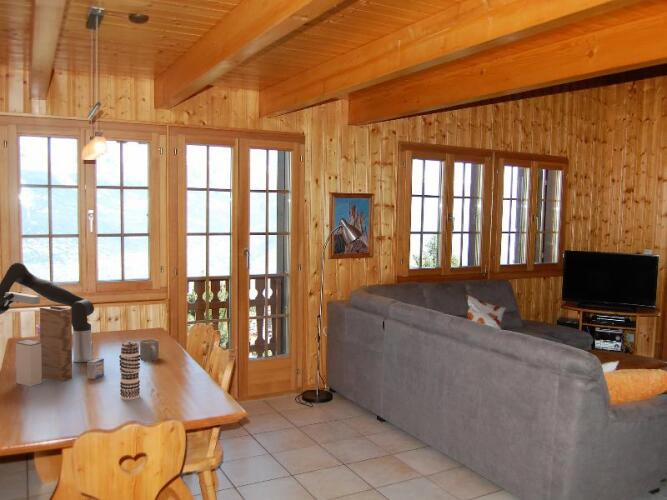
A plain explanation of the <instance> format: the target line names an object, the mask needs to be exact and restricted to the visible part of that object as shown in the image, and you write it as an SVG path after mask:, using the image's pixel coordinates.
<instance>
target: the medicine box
mask: <svg viewBox="0 0 667 500" xmlns="http://www.w3.org/2000/svg"><path fill="white" fill-rule="evenodd" d="M86 363H87V365H86V367H87V369H86V371H87V372H86V373H87V379H88V380H89V379H90V380H96V379H99V378H101V377H103V376H104V375H105V359H104V358H103V357H102V358H101V357H96V358H93V359H92V360H91V361H88V362H86Z"/></svg>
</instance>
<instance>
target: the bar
mask: <svg viewBox="0 0 667 500" xmlns="http://www.w3.org/2000/svg"><path fill="white" fill-rule="evenodd" d="M11 293H13V295H14V297H13V298H12V299H10V301H16V302H15V303H17V302H18V303H23V304H28V305H38V304H39V305H40V304H41V295H33V294H28V293H22V292H21V293H18V292H14V291H9V292H7V293H5V296H8V295H9V294H11Z"/></svg>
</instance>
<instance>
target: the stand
mask: <svg viewBox="0 0 667 500" xmlns="http://www.w3.org/2000/svg"><path fill="white" fill-rule="evenodd" d="M49 307H50V308H48V307H39V324H40V338H39V342H41V361H42V379H48V380H51V381H56V382H64V381H67V380H71V379H73V326H72V309H71V307H70V308H69V307H62V306H56V305H50V306H49Z"/></svg>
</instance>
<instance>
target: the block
mask: <svg viewBox="0 0 667 500" xmlns="http://www.w3.org/2000/svg"><path fill="white" fill-rule="evenodd" d="M15 358H16V360H15V361H16V362H15V365H16V369H15V370H16V384H18V385H19V384H20V385H23V386H27V387H33V386H37V385H40V384H42V383H43V380H42V379H43V378H42V361H41V342H40V341H36V340H31V339H24V340H19V341H15Z"/></svg>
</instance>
